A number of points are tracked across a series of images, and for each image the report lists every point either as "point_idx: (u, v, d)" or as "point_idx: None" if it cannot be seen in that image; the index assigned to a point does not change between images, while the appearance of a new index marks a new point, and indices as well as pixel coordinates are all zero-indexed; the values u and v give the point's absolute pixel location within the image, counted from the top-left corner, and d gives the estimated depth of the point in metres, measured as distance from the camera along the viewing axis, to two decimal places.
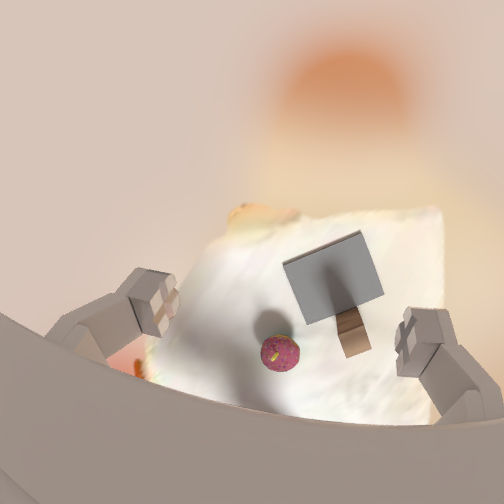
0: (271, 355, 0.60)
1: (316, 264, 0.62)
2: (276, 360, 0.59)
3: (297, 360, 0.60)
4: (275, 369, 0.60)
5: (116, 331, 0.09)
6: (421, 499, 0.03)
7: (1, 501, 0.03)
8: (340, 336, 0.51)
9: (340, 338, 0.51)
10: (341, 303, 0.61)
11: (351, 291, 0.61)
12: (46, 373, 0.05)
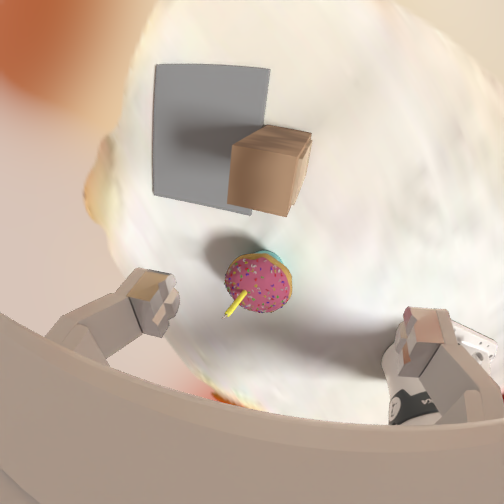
0: (244, 299, 0.37)
1: (169, 151, 0.36)
2: (255, 300, 0.36)
3: (279, 272, 0.35)
4: (273, 308, 0.37)
5: (116, 331, 0.09)
6: (421, 499, 0.03)
7: (1, 501, 0.03)
8: (231, 200, 0.24)
9: (235, 203, 0.24)
10: None
11: (233, 120, 0.32)
12: (46, 373, 0.05)
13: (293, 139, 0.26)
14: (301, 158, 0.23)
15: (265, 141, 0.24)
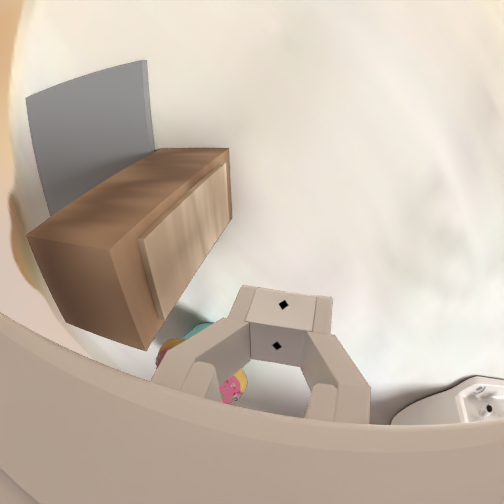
0: None
1: (62, 206, 0.24)
2: None
3: None
4: None
5: (229, 361, 0.08)
6: (421, 499, 0.03)
7: (1, 501, 0.03)
8: (68, 319, 0.12)
9: (74, 322, 0.12)
10: None
11: (113, 153, 0.20)
12: (46, 373, 0.05)
13: (167, 178, 0.14)
14: (145, 235, 0.10)
15: (98, 203, 0.12)
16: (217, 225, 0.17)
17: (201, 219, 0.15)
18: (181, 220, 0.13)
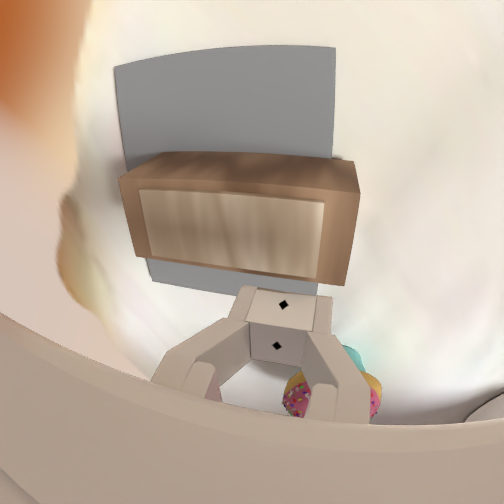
0: None
1: None
2: None
3: None
4: None
5: (229, 361, 0.08)
6: (421, 499, 0.03)
7: (1, 501, 0.03)
8: None
9: None
10: None
11: None
12: (46, 373, 0.05)
13: (235, 172, 0.14)
14: (144, 189, 0.14)
15: (193, 159, 0.16)
16: (275, 259, 0.15)
17: (232, 228, 0.14)
18: (190, 206, 0.14)
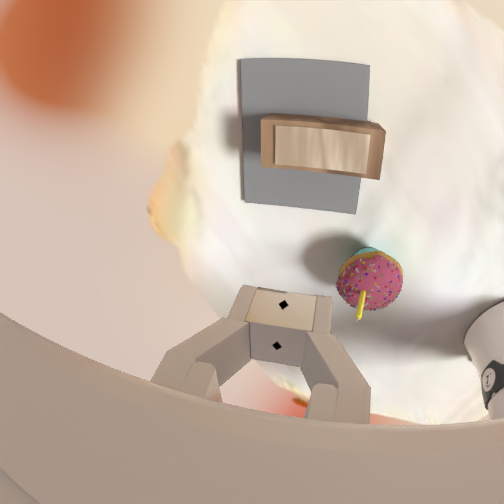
0: None
1: None
2: (373, 298, 0.34)
3: (395, 268, 0.32)
4: (387, 303, 0.35)
5: (229, 361, 0.08)
6: (421, 499, 0.03)
7: (1, 501, 0.03)
8: None
9: None
10: None
11: None
12: (46, 373, 0.05)
13: (325, 121, 0.27)
14: (278, 125, 0.27)
15: (296, 116, 0.29)
16: (346, 163, 0.27)
17: (326, 146, 0.27)
18: (305, 134, 0.27)
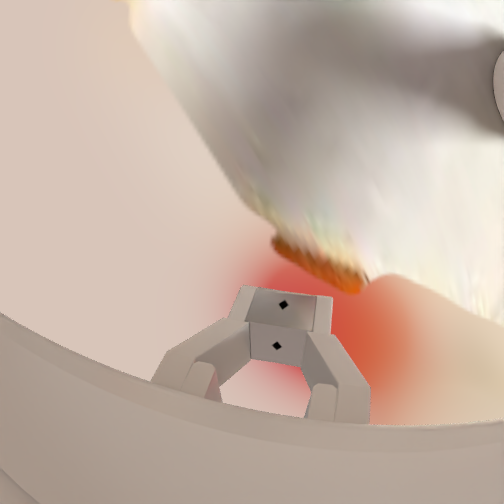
0: None
1: None
2: None
3: None
4: None
5: (229, 361, 0.08)
6: (421, 499, 0.03)
7: (1, 501, 0.03)
8: None
9: None
10: None
11: None
12: (46, 373, 0.05)
13: None
14: None
15: None
16: None
17: None
18: None
